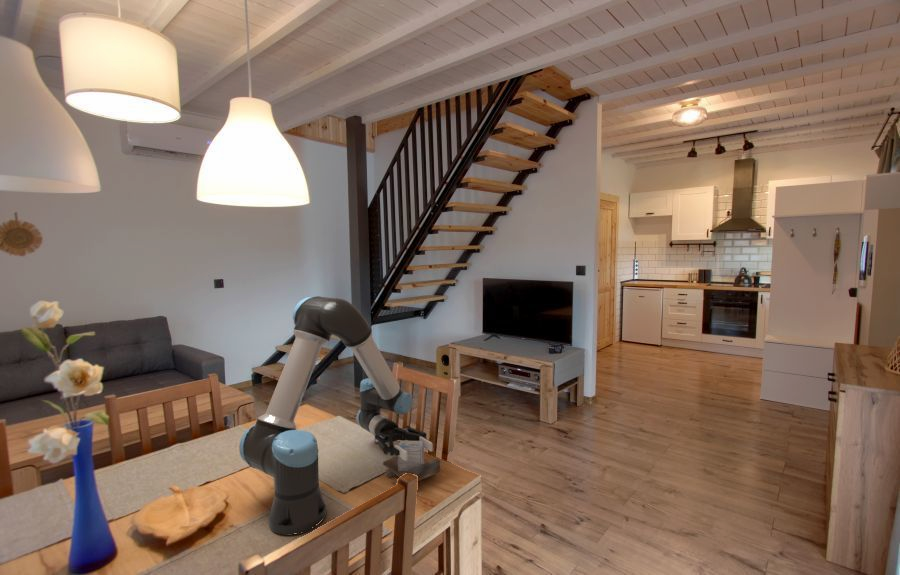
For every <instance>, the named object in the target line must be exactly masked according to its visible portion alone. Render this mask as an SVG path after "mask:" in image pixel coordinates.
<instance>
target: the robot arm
mask: <svg viewBox="0 0 900 575" xmlns="http://www.w3.org/2000/svg"><path fill="white" fill-rule="evenodd" d="M292 320H293V321H292V322H293V324H294V327H293V331H292V332H293V334H294V336H295V339H294V341H293V344H292V346H291V349H290V351H289V353H288V357H287V359H286V361H285V364H284V367H283V369H282V372H281V373H280V376H279V379H278V381H277V384H276V387H275V389H274V391H273V393H272V396H271V399H270V401H269V403H268V407H267V409H266V411H265V413H264V414H262V415H260V416H258V417H257V420H256V421H255V424H253V425H251V426H249V428H247V429H246V430H245V431H244V432H243V434H242V436H241V438H240V441H239V447H238V448H239V449H238V451H239V455H240V457H241V459H242V461H244V463H246V464H247V465H248V466H249V467H251V468H252V469H255V470H258V471H260V472H262V473H264V474H266V475H267V476H270V477H272V478H273V483H274V484H273V486H274V497H273V500H272V504H271V507H270V509H269V514H268V525H269V528H270V530H271V532H272V533H275V534H277V535H280V534H282V535H281V536H288V535H287V534H294V533H297V535H299V534H298V533H301V532H303V533H301V534H304V533H307V532H310V531H311V530H313V529H312V527H315V526H316V524H318V523H319V522H320V521H321V520H322V519H323V518H324V517H325V518H326V516H327V503H326V501H325V498H324V495H323V494H322V491H321V488H320V477H319V476H320V475H319V474H320V473H319V472H320V471H319V447H318V446H319V445H318V441H317V438H316V436H315V435H314V434H313V433H312V432H310V431H307V430H303V429H299V430H297V429H298V427H297V425H296V423H295V419H296V417H297V414H298V411H299V408H300V405H301V403H302V400H303V398H304V395H305V393H306V390H307V387H308V385H309V382H310V379H311V376H312V374H313V371H314V369H315V366H316V364H317V360H318V358H319V355H320V353H321V349H322V347H323V346H325V345H328V344H329V342H330V340H331V338H332V336H334V337H337V338H338V339H339V340H340V341H341V342H342V343H343V345H344V346H345V347H347V348H350V350H351V351H352V354H354V357H355V358H356V360H357V361H358V363H359V365H360V366H361V368H362V369H363V371H364V373H365V374H366V376H367V377H368V378H365V379H362V380H361V381H360V385H359V397H360V398H359V400H360V408H359V410H358V411H357V414H356V417H355V419H356V423H357V424H358V425H359V426H360V427H361V428H362V429H364V430H366V431H367V432H369V433H370V434H371V435H373V436H374V444H376V445H377V446H378V448H380V450H381V451H382V453H383V454H384V455H388V454H389V456H392V457H393V456H396V457H398V456H399V457H400V458H402V459H403V460H405V461H407V451H405V450H404V449H402V448H401V447H399V446H398V445H399V444H394V442H396V441H401V440H404V441H423V442H424V449H425V450H428V451H429V452H431V453H432V452H433V451H434V450H433V449H434V447H433V445H434V443H433V442H431V441H430V440H429V439H428V438H427V432H424V431H422V430H418V429H415V428H414V427H412V426H409V425H406V427H405V428H402V427H399V426H398V425H397V423H396V422H395V421H393V419H392V420H391V419H390V418H389V417H387V416H385V415H383V414H382V411H381V410H385V411H388V412H393V413H394V414H400V415H406V414H408V413H409V412H410V410H412V407H413V402H414V400H413V395H411V394H410V393H408V392H407V391H403V390H402V388H401V387H400V384H399V382H398V381H397V379H396V378H395V376H394V374H393V372H392V370H391V369H390V366H389V365H388V363H387V361H386V360H385V358H384V356H383V354H382V353H381V351H380V349H379V347H378V346H377V343H376V342H375V340H374V338H373V335H372V334H373V330H372V328H371V327H370V325H369V323H368V321H367V319H366V318H365V316H363V314H362V313H361V311H360V310H358V309H357V307H355V305H353V304H352V303H351V302H350V301H347V300H345V299H343V298H340V297H339V298H338V297H335V298H334V297H325V296H319V295H318V296H317V295H315V296H308V297H305V298H303V299H301V300H300V301H299V302H298V303H297V304H296V305H295V307H294V309H293V312H292ZM387 443H388V444H387ZM325 515H326V516H325ZM325 518H324V519H325ZM315 528H316V527H315ZM285 534H286V535H285Z"/></svg>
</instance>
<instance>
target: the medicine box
mask: <svg viewBox="0 0 900 575" xmlns="http://www.w3.org/2000/svg"><path fill="white" fill-rule="evenodd" d="M397 445H398V446H399V447H401V448H402V449H404V450H405V451H407V461H405V460H403V459H402V458H400V457H399V456H397V457H398V471H408V470H410V469H413V468H415V467H418V466H421V465H423V464H424V459H425V453H424V452H425V450H424V449H425V448H424V442H423V441H408V440H405V441H404V440H399V443H398V444H397Z"/></svg>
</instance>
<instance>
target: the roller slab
mask: <svg viewBox="0 0 900 575" xmlns="http://www.w3.org/2000/svg"><path fill="white" fill-rule="evenodd" d="M382 465H383V466H384V467H385V468H387V469H386V471H385V474H386V477H387V478H391V477H394V476H397V477H399V478H400V476H402V475H403V474H405V473H411V474H415V475H417V476H418V481H417V482H419V481H422V480H425V479H427V478H430V477H431V476H434V475H437V474H439V473H441V460H440V459H439V458H436V459H433V460H431V461H428V460H427V459H425V458H424V464H423V465H421V466H418V467H415V468H413V469H410V470H408V471H398V456H396V457H393V458H390V459H387V460H384V461H382Z"/></svg>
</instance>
